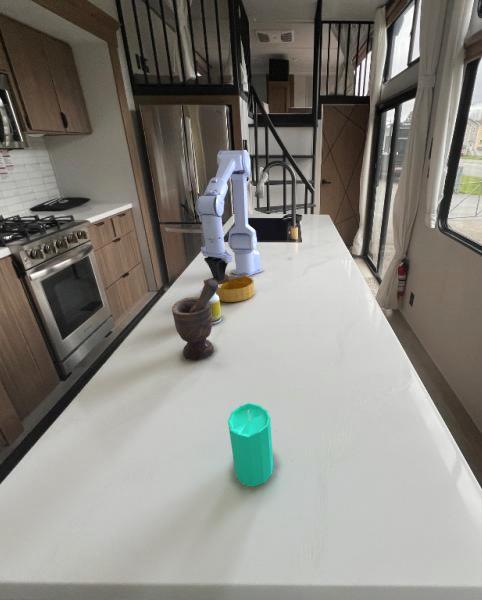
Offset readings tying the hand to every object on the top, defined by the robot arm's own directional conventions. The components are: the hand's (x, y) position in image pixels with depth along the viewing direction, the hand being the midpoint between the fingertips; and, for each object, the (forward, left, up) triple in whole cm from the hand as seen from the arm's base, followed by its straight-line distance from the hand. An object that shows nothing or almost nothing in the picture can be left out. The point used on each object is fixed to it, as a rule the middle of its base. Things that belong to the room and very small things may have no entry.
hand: (219, 279), depth 103 cm
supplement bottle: (+10, +10, -7) cm, 16 cm away
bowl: (-5, 0, -7) cm, 9 cm away
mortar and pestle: (+20, +23, -7) cm, 31 cm away
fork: (-3, 0, -1) cm, 3 cm away
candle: (+31, +56, -7) cm, 64 cm away
